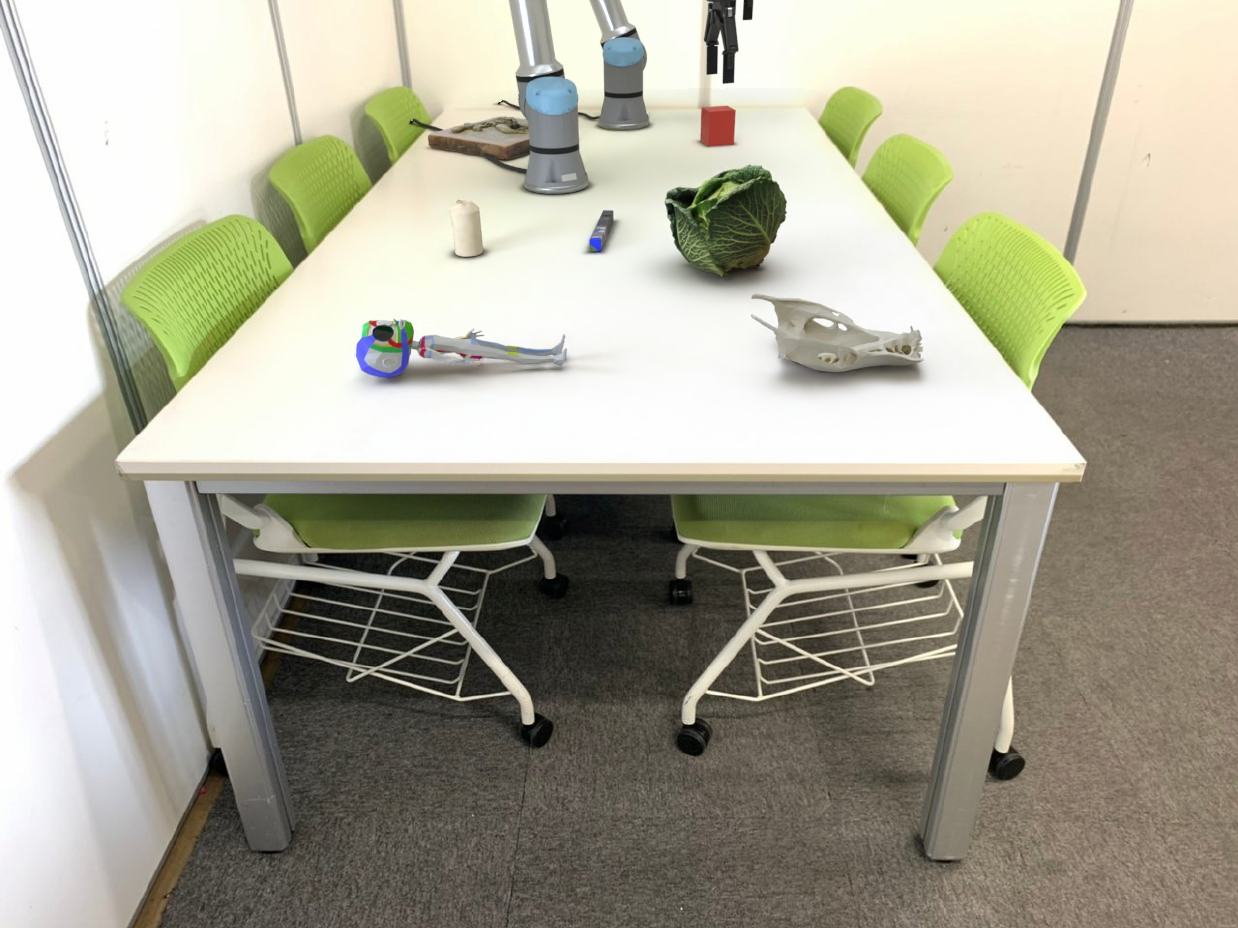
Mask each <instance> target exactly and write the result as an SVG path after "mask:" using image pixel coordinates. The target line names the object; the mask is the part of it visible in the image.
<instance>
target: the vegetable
mask: <svg viewBox="0 0 1238 928" xmlns="http://www.w3.org/2000/svg"><path fill="white" fill-rule="evenodd" d="M665 196H666V197H665V199H664V205H665V208H666V209H665V210H666V218H667V219H668V221H669V222H670V224H669V228H670V231H671V236H672V238H673V239H674V240H673V243H674V245H675V247H676V249H677V250H678V252H680V255H681V256H682V257H683V258H684V259H685V261H686V262H687V263H688V264H689V263H691V264H692V265H693V266H694V267H695V268H696V269H699V270H700V271H702V272H704V273H708V274H714V275H715V274H716V275H718V276H719V277H721V278H723V277H724V276H730V274H729V273H728V272H729V271H732V270H734V269H740V268H742V269H747V268H748V267H754V268H756V267H757V268H760V266H761V264H763V263H764V261H765V258H766V257H767V256H768V255H769V253H770V250H771V245H772V244H774V243H775V241H776V239H777V236H778V235H777V234H778V231H779V229H780V227H781V225H782V224H783V223H784V222H786V218H787V216H786V214H787V213H788V211H787V203H788V201H787V199H786V196H785V194H784V192H783V191H782V189H781V188H780V184H779V183H778V181H777V180H774V179H773V176H772V173H771V171H770V170H768V169H765V168H763V165H755V164H754V165H751V164H748V165H745V166H743V167H742V168H732V169H729V170H723V171H721V172H720V173H718V174H716V175H714V176H713V177H711V178H709V179H707V180H704V181H703V182H702V184H701V185H700V186H698V187H684V186H677V187H674V188H672V189H670V190H668V191H667V192H666V194H665Z"/></svg>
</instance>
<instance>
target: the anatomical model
mask: <svg viewBox="0 0 1238 928" xmlns="http://www.w3.org/2000/svg"><path fill="white" fill-rule="evenodd" d="M750 298H751V300H762V301H766V302H770V303H771V305H773V307H774V313H775V314H776V318H777V327H776V326H774V325H772V324H770V323H768V322H767V321H765V320H763V319H762V318H761V317H758V316H757V315H755V314H753V313H751V314H750V317H751V319H753V320H755V321H756V322H758V323H760V324H761V325H762V326H764V327H766V328H767V329H769V330H770V331H772V332H773V334H774V336H775V337H774V338H775V341H776V344H777V351H778V353H777V358H778V359H782V360H788V361H792V362H794V363H798V364H800V365H802V366H803V367H805V368H808V369H811V370H812V371H821V372H828V373H844V372H849V371H853V370H857V369H862V368H868V367H877V366H878V367H880V366H912V365H915V364H919V363H922V362H924V361H925V359H924V358H921V357H922V356H921V353H923V351H924V346H921V345H922V343H921V341H922V340H923V337H922V334H921V331H920V330H919V329H916V330H914V327H913V325H910V327H909V329H910V332H902V333H896V332H893V331H884V330H876V329H870V328H864V327H862V326H860V325H858V324H855V322H854V320H853V319H852V318H850V317H849V316H848V315H846V314H844V313H843V312H841V311H838V310H836V309H833V308H831V307H829V306H826V305H824V304H822V303H820V302H819V303H818V302H816V301H815V302H814V301H811V300H806V299H802V298H799V297H777V296H771V295H766V294H761V293H753V294H752V295H751V297H750ZM836 314H838V315H836ZM815 319H819V320H820V319H821V320H822V319H823V320H826V321H830V322H831V323H832V325H830V326H825V325H823V324H820V323H819V322H817V321H815ZM839 325H843V326H844V327H845V328H846V330H844V329H842V328H840V327H839Z"/></svg>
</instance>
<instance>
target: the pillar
mask: <svg viewBox="0 0 1238 928" xmlns="http://www.w3.org/2000/svg"><path fill="white" fill-rule="evenodd" d="M614 216H615V215H614V210H613V209H612V210H611V209H602V212H601V214H600V216H599V219H598V221H597V222H596V225H595V227H594V229H593V231H592V234H591V236H590V237H589V241H588V243H589V244H588V245H589V246H588V247H589V248H588V250H589V252H601V251H602V249H603V247H604V245H605V242H606V239H607V237H608V235H609V232H610V231H611V228H612V226H613V223H614Z"/></svg>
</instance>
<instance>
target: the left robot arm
mask: <svg viewBox="0 0 1238 928" xmlns="http://www.w3.org/2000/svg"><path fill="white" fill-rule="evenodd" d="M731 1H735V0H706V2H708V5H707V15H706V16H707V17H706V21H705V22H706V23H705V30H704V36H703V42H704V43H705V44H706V45H705V46H706V70H705V71H706V75H707V76H709V75H718V71H719V70H718V69H719V68H718V66H719V45H720V41H719V37H721V40H722V46H723V50H722V52H721V55H722V85H726V84H727V85H728V84H734V83H735V64H736V62H735V61H736V53H738V52H739V51H740V50H739V41H738V31H737V21H736V15H735V7H730V2H731ZM508 4H509V10H510V15H511V21H512V27H513V33H514V38H515V45H516V49H517V55H518V60H519V61H518V62H519V66H518V68H517V69H516V71H515V72H514V75H515V78H516V79H515V80H516V86H517V91H518V94H517V96H518V98H517V100H518V101H517V102H518V106H519V107H520V109H519V111H520V112H521V114H522V116H523V118H524V119H527V121H528V127H529V142H530V153H529V157H528V162H527V168H523V167H518V166H515V165H510V164H507V163H505V162H503V161H501V160H500V159H497V158H493V157H492V156H490V155H488V154H486V153H484V154H483V156H482V157H485V158H486V159H488V160H489V161H491V162H493V163H495V164H496V165H498V166H500V167H503V168H505V169H508V170H511V171H515V172H519V173H524V174H525V175H524V180H523V183H524V188H525V189H526V190H527V191H530V192H531V193H535V194H536V193H537V194H543V195H544V194H545V195H562V194H570V193H576V192H579V191H583V190H584V189H586V188H587V187H589V175H588V173H587V171H586V168H585V164H584V161H583V158H582V156H581V153H580V130H579V129H580V128H579V127H580V125H579V115H578V112H579V107H578V106H579V94H578V88H577V85H576V84H575V83H574V81H572V80H570V79H569V78H566V76H565V69H564V65H563V64H562V63H561V62H560V61H558V59H557V57H556V53H555V47H554V40H553V33H552V27H551V21H550V14H549V8H548V2H547V0H508ZM412 118H413V117H412ZM409 123H410V125H412V124H413V123H415V124H417V125H418V126H420V127H424V128H427V129H430V130H434V131H435V132H438V131H442V130H444V129H443V128H440V127H438V126H435V125H431V124H427V123H424V122H421V121H419V120H418V119H416V118H413V121H411V119H410V120H409V122H408V124H409Z"/></svg>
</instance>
